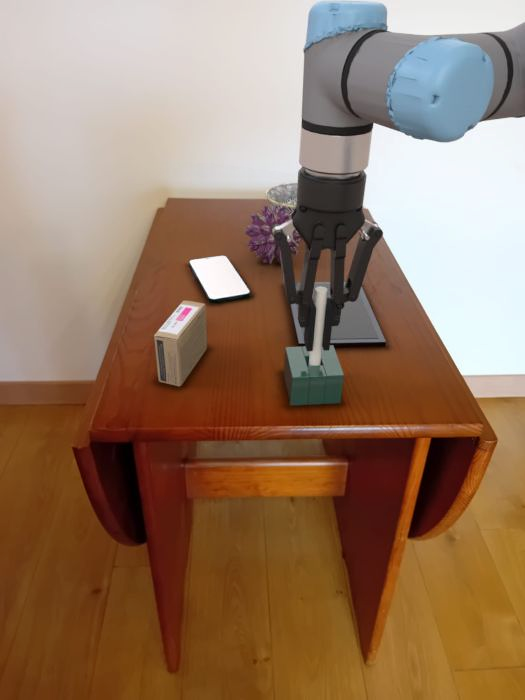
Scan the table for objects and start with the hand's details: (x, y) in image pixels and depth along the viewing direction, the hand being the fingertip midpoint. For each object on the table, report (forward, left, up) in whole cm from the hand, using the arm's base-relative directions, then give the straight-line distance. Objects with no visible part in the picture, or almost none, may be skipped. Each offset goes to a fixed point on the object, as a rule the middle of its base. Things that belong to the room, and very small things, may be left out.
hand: (316, 344), depth 73 cm
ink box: (+16, +11, -8) cm, 21 cm away
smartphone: (+34, -9, -8) cm, 36 cm away
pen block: (0, 0, -8) cm, 8 cm away
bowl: (+44, -40, -8) cm, 60 cm away
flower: (+34, -23, -8) cm, 42 cm away
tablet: (+12, -17, -8) cm, 22 cm away
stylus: (0, 0, -6) cm, 6 cm away
